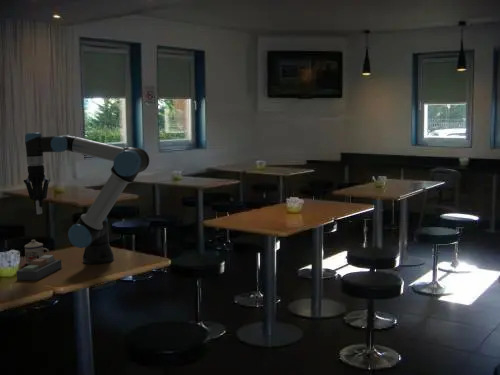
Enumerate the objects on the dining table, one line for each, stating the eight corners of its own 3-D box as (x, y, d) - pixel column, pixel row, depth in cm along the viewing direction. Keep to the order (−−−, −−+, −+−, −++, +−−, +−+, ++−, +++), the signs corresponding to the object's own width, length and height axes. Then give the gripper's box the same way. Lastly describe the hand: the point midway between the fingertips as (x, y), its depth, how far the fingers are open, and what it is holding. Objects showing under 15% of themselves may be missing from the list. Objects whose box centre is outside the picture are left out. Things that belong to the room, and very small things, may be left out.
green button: (39, 273, 290) (38, 265, 290) (33, 275, 286) (32, 268, 285) (29, 272, 292) (29, 265, 291) (24, 275, 287) (23, 267, 286)
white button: (54, 262, 304) (54, 255, 303) (49, 265, 299) (48, 257, 299) (45, 262, 305) (44, 255, 304) (40, 264, 300) (39, 257, 300)
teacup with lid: (22, 265, 314) (20, 242, 312) (30, 260, 323) (28, 238, 321) (46, 264, 313) (44, 241, 311) (53, 260, 322) (51, 237, 320)
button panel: (61, 267, 305) (61, 259, 305) (37, 280, 284) (36, 271, 283) (42, 267, 307) (42, 259, 307) (17, 279, 286) (16, 271, 286)
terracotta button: (47, 266, 297) (46, 258, 297) (41, 268, 292) (40, 261, 292) (37, 266, 298) (37, 258, 298) (32, 268, 293) (31, 261, 293)
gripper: (18, 166, 300) (23, 215, 303) (43, 165, 297) (47, 215, 300) (27, 164, 307) (31, 212, 310) (51, 164, 304) (55, 212, 307)
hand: (39, 213), depth 305 cm, fingers closed
